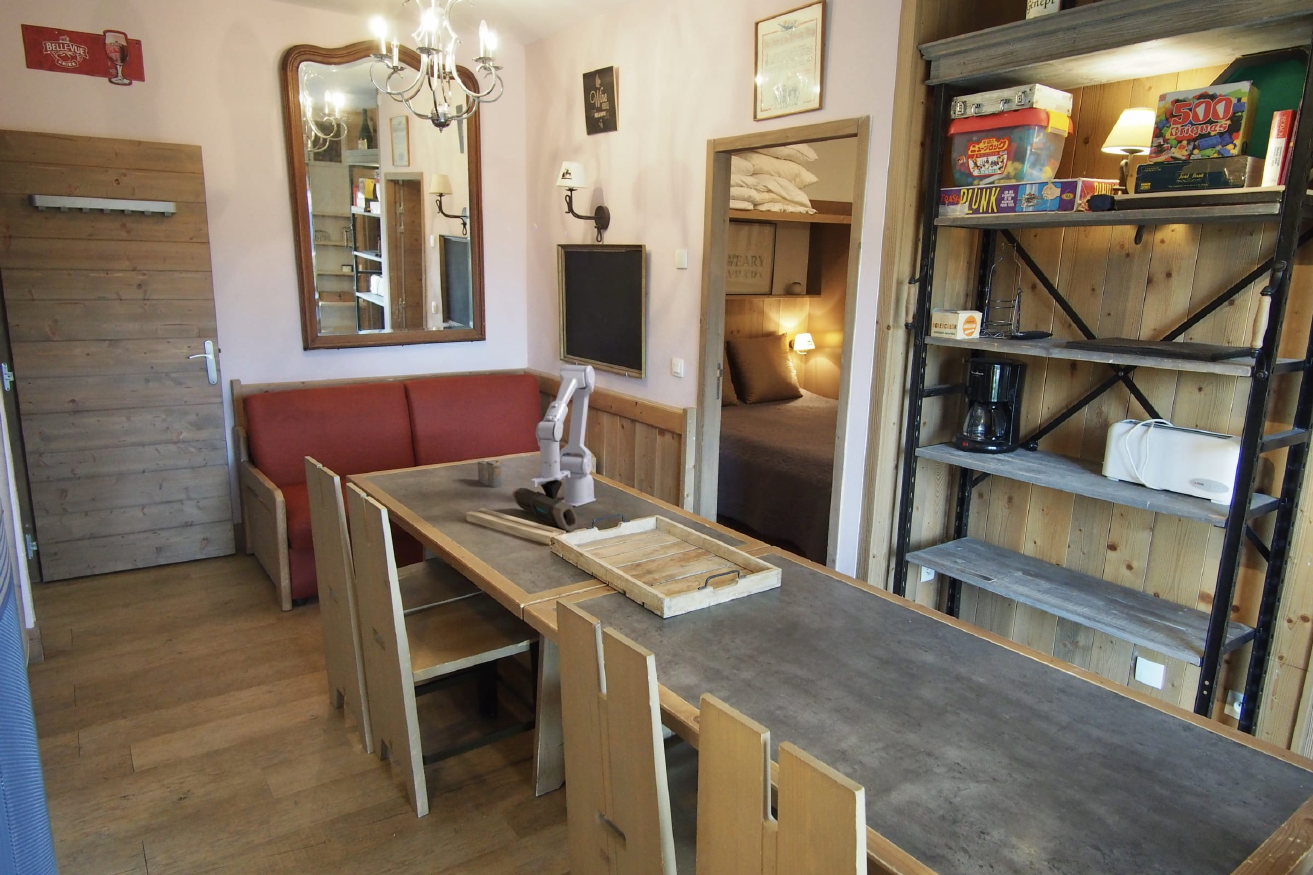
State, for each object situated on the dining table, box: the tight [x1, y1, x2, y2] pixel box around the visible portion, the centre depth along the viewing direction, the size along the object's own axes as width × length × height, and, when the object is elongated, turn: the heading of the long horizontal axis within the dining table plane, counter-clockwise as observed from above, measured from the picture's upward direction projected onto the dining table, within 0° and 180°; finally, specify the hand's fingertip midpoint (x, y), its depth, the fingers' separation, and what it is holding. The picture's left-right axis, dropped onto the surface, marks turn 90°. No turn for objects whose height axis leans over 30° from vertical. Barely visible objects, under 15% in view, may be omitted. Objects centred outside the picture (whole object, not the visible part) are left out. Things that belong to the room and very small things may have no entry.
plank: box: [465, 507, 567, 546], centre depth 233 cm, size 6×36×3 cm, turn 51°
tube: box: [512, 487, 580, 533], centre depth 241 cm, size 11×7×30 cm
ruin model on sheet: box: [477, 459, 502, 489], centre depth 283 cm, size 11×3×10 cm, turn 41°
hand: (551, 504), depth 244 cm, fingers closed, pressing on tube
